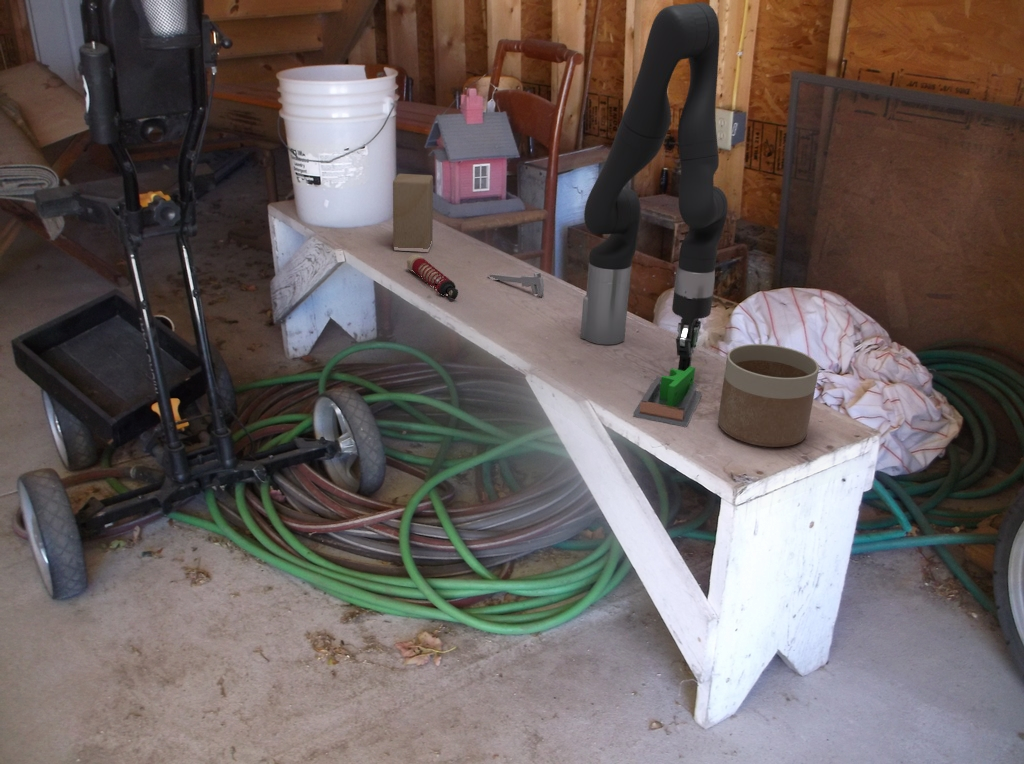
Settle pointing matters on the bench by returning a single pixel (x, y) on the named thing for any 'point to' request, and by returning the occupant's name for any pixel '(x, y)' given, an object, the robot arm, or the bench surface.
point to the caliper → (524, 281)
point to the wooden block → (412, 211)
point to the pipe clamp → (676, 385)
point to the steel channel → (659, 411)
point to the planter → (767, 394)
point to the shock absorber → (432, 276)
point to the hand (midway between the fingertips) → (683, 371)
